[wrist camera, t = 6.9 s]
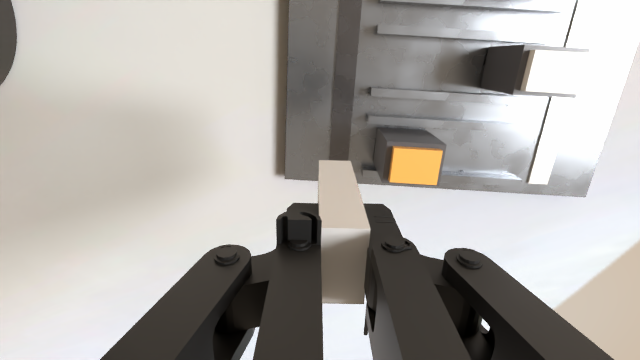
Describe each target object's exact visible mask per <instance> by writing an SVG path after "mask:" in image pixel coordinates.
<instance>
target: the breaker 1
mask: <svg viewBox="0 0 640 360" xmlns="http://www.w3.org/2000/svg"><path fill="white" fill-rule="evenodd" d="M446 146H447V145H446V144H445V143H443V142H442V141H441V140H439V139H438V138H437V137H435V136H434V135H433V134H431V133H430V132H428V131H427V130H416V129H399V128H383V127H377V134H376V143H375V151H374V160H373V163H374V166H375V168H376V170H377V172H378V175H379V177H380V179H381V182H382V183H389V184H406V185H422V186H438V187H439V184H440V178H441V173H442V168H443V162H444V157H445V151H446Z"/></svg>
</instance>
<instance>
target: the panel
mask: <svg viewBox="0 0 640 360" xmlns="http://www.w3.org/2000/svg"><path fill="white" fill-rule="evenodd" d="M639 39H640V0H289V26H288V68H287V110H286V153H285V179H294V180H311V181H318V176H319V160H336V161H351V164H352V167H353V171H354V174H355V177H356V181H357V183H360V184H377V185H393V186H409V187H426V188H442V189H459V190H475V191H492V192H508V193H525V194H541V195H558V196H574V197H586V194H587V191H588V188H589V185H590V182H591V179H592V177H593V174H594V171H595V168H596V165H597V162H598V159H599V156H600V153H601V150H602V147H603V144H604V141H605V139H606V136H607V133H608V130H609V127H610V124H611V121H612V118H613V115H614V112H615V109H616V106H617V103H618V101H619V98H620V95H621V92H622V89H623V86H624V83H625V80H626V77H627V74H628V71H629V68H630V65H631V63H632V60H633V57H634V54H635V51H636V48H637V45H638V42H639ZM523 44H527V45H544V46H560V47H577V48H591V49H590V52H589V56H588V60H587V63H586V66H585V70H584V73H583V76H582V80H581V83H580V86H579V90H578V93H577V95H576V98H575V99H574V98H557V97H541V96H524V95H511V94H506V93H501V92H496V91H491V90H486V89H481V88H480V86H481V82H482V77H483V72H484V67H485V62H486V57H487V53H488V48H489V47H494V46H509V45H523ZM377 127H383V128H399V129H416V130H427V131H428V132H430V133H431V134H433V135H434V136H435V137H437V138H438V139H439V140H441V141H442V142H443V143H445V144H446V145H447V146H446V151H445V157H444V162H443V168H442V173H441V178H440V184H439V187H438V186H422V185H406V184H389V183H382V182H381V179H380V177H379V175H378V172H377V170H376V168H375V166H374V163H373V160H374V151H375V143H376V134H377Z"/></svg>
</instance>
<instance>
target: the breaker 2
mask: <svg viewBox="0 0 640 360" xmlns="http://www.w3.org/2000/svg"><path fill="white" fill-rule="evenodd" d="M590 49H591V48H577V47H560V46H544V45H527V44H523V45H509V46H494V47H489V48H488V53H487V57H486V62H485V67H484V72H483V77H482V82H481V86H480V88H481V89H486V90H491V91H496V92H501V93H506V94H511V95H524V96H541V97H557V98H574V99H575V98H576V95H577V93H578V90H579V86H580V83H581V80H582V76H583V73H584V70H585V66H586V63H587V60H588V56H589V52H590Z"/></svg>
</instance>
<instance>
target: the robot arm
mask: <svg viewBox="0 0 640 360" xmlns="http://www.w3.org/2000/svg"><path fill="white" fill-rule="evenodd" d="M16 39H17V33H16V22H15V16H14V11H13V7H12V3H11V0H0V85H1V83H2V82H3V81H4V80H5V78H6V76H7V75H8V73H9V71H10V69H11V66H12V63H13V60H14V56H15V51H16ZM276 229H277V246H276V249H274V250H273V251H271V252H269V253H266V254H262V255H257V256H252V257H251V254H250V251H249V250H248V249H247V248H245V247H243V246H239V245H222V246H219V247H216V248H214V249H211V250H210V251H209V252H207V253H206V254H205V255H204V256H203V257H202V258H201V259H200V260H199V261H198V262H197V263H196V264H195V265H194V266H193V267H192V268H191V269H190V270H189V271H188V272H187V273H186V274H185V275H184V276H183V277H182V278H181V279H180V280H179V281H178V282H177V283H176V284H175V285H174V286H173V287H172V288H171V289H170V290H169V291H168V292H167V293H166V294H165V295H164V296H163V297H162V298H161V299H160V300H159V301H158V302H157V303H156V304H155V305H154V306H153V307H152V308H151V309H150V310H149V311H148V312H147V313H146V314H145V315H144V316H143V317H142V318H141V319H140V320H139V321H138V322H137V323H136V324H135V325H134V326H133V327H132V328H131V329H130V330H129V331H128V332H127V333H126V334H125V335H124V336H123V337H122V338H121V339H120V340H119V341H118V342H117V343H116V344H115V345H114V346H113V347H112V348H111V349H110V350H109V351H108V352H107V353H106V354H105V355H104V356H103V357H102V358H101V359H100V360H240V358H241V356H242V354H243V353H244V351H245V349H246V347H247V345H248V343H249V342H250V340H251V338H252V336H253V333H254V330H255V327H259V326H260V328H259V332H258V337H257V342H256V347H255V352H254V357H253V360H323V325H322V303H334V304H364V296H365V295H366V300H367V305H366V316H365V327H364V335H367V334H368V332H369V338H370V344H371V350H372V355H373V360H614V359H613V358H611V357H610V356H609V355H608V354H606V353H605V352H604V351H603V350H602V349H600V348H599V347H598V346H597V345H595V344H594V343H593V342H592V341H590V340H589V339H588V338H587V337H586V336H584V335H583V334H582V333H581V332H579V331H578V330H577V329H576V328H574V327H573V326H572V325H571V324H570V323H568V322H567V321H566V320H564V319H563V318H562V317H561V316H560V315H558V314H557V313H556V312H555V311H554V310H552V309H551V308H550V307H549V306H547V305H546V304H545V303H544V302H542V301H541V300H540V299H539V298H538V297H536V296H535V295H534V294H533V293H531V292H530V291H529V290H528V289H526V288H525V287H524V286H523V285H522V284H520V283H519V282H518V281H517V280H515V279H514V278H513V277H512V276H510V275H509V274H508V273H507V272H506V271H504V270H503V269H502V268H501V267H499V266H498V265H497V264H496V263H494V262H493V261H492V260H491V259H490V258H488V257H487V256H485V255H483V254H482V253H479V252H477V251H474V250H472V249H467V248H454V249H451V250H448V251H447V252H446V253H445V256H444V260H440V259H435V258H430V257H427V256H423V255H420V254H419V252H418V250H417V248H416V246H415V245H414V244H413V243H412V242H411V241H409V240H408V239H406V238H403V237H402V235H401V232H400V230H399V228H398V226H397V224H396V221H395V219H394V218H393V215H392V212H391V210H390V209H389V208H387V207H386V206H384V205H383V204H363V201H362V198H361V194H360V191H359V188H358V184H357V181H356V177H355V174H354V171H353V167H352V164H351V161H336V160H319V176H318V204H316V203H293V204H292V205H291V206H290V207H288V208H287V212H284V213H282V214H281V215H279V216H278V218H277V219H276ZM482 318H483V319H484V320H485V321H486V322H487V323H488V325H489V326H490V330H489V331H487V330H486V329H485V328H484V327H483V326H482V325H481V322H482Z"/></svg>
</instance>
